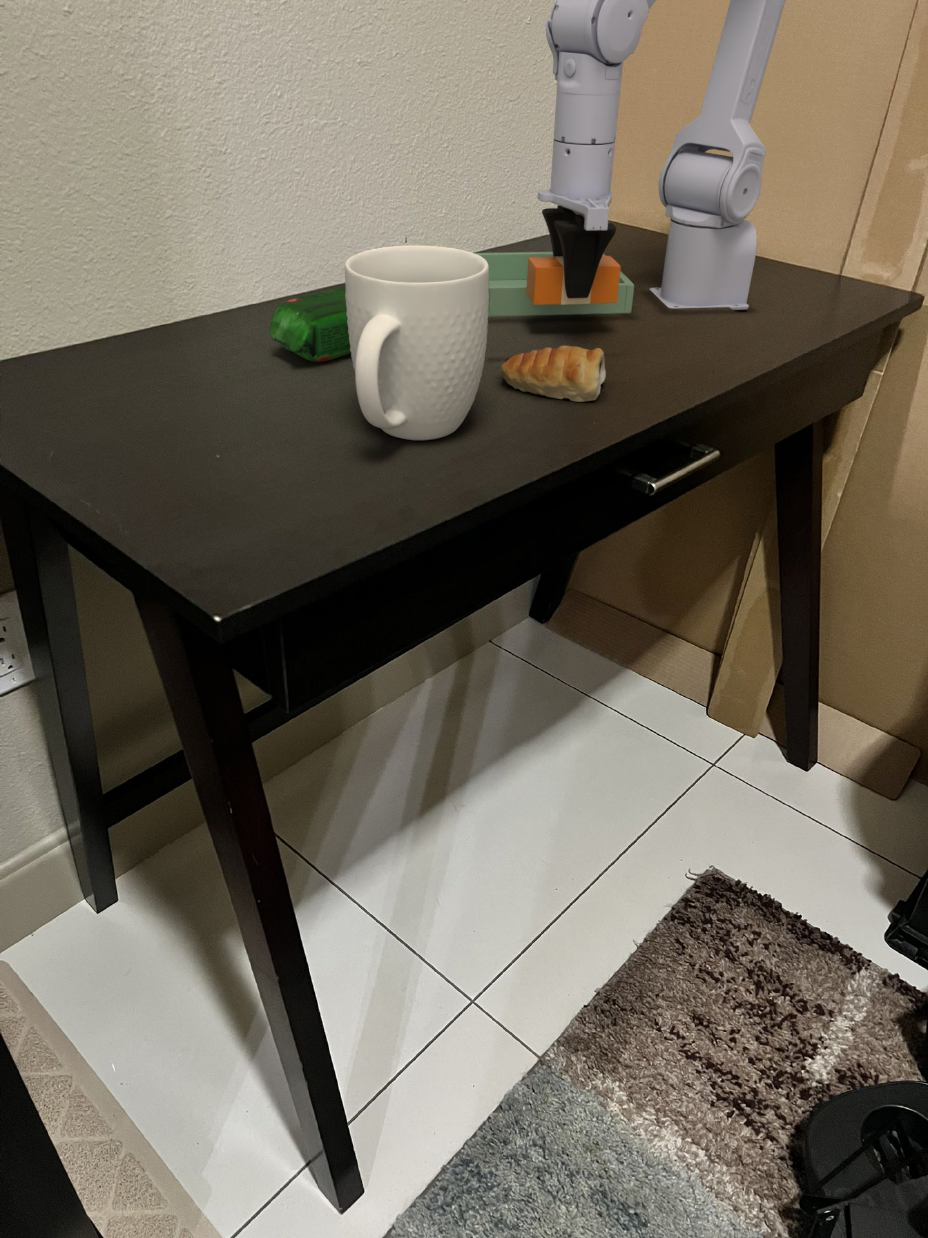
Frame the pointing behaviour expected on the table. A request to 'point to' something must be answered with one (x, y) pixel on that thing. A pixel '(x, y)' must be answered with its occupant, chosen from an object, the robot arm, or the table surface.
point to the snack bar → (550, 283)
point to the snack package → (313, 325)
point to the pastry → (558, 372)
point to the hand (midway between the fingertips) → (572, 290)
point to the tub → (512, 288)
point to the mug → (417, 336)
